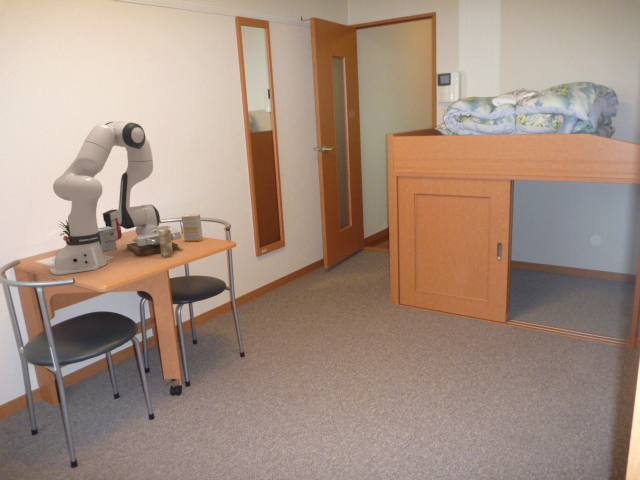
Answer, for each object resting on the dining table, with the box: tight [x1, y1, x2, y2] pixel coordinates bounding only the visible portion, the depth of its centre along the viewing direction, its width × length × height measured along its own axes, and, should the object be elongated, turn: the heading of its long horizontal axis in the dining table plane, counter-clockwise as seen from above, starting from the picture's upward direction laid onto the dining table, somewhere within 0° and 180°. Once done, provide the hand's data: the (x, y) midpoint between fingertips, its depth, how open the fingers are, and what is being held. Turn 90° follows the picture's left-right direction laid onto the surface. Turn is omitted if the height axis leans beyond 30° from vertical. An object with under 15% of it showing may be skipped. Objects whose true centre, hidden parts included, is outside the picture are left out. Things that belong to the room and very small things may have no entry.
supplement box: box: [181, 213, 204, 243], centre depth 269 cm, size 8×5×13 cm, turn 84°
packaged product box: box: [102, 208, 123, 240], centre depth 281 cm, size 11×4×15 cm, turn 179°
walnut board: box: [126, 241, 179, 257], centre depth 259 cm, size 18×20×2 cm
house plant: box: [58, 219, 70, 237], centre depth 260 cm, size 14×14×16 cm
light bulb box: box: [98, 226, 118, 253], centre depth 259 cm, size 11×7×11 cm, turn 134°
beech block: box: [158, 229, 174, 259], centre depth 242 cm, size 4×4×12 cm
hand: (164, 240), depth 243 cm, fingers open, 8 cm apart
